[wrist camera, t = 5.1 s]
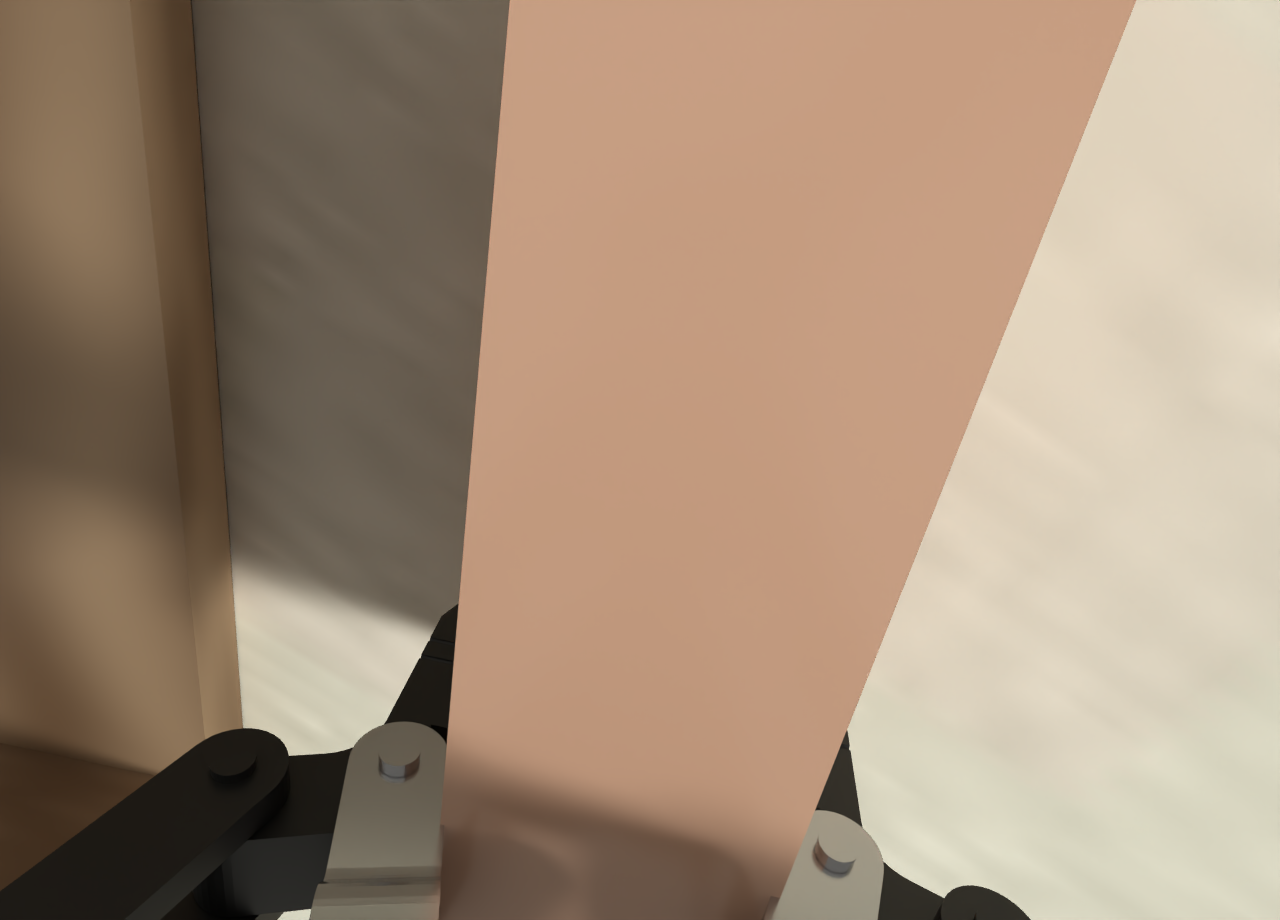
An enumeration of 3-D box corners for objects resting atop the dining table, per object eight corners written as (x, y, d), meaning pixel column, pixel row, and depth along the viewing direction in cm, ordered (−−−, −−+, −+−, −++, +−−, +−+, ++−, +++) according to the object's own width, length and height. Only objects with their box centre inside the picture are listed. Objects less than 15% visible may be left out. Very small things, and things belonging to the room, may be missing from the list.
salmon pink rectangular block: (1000, -188, 10) (1328, -486, 4) (711, 772, 17) (697, 1106, 12) (663, -251, 10) (561, -620, 4) (522, 732, 17) (421, 1044, 12)
